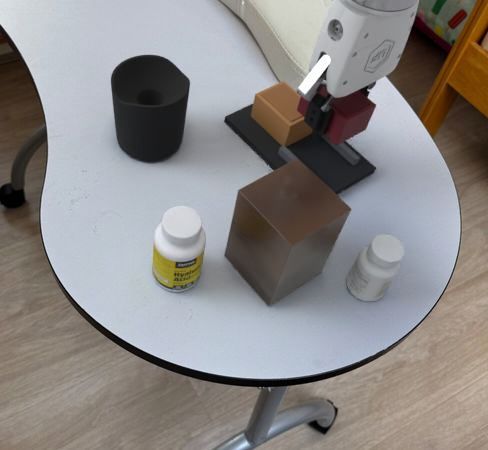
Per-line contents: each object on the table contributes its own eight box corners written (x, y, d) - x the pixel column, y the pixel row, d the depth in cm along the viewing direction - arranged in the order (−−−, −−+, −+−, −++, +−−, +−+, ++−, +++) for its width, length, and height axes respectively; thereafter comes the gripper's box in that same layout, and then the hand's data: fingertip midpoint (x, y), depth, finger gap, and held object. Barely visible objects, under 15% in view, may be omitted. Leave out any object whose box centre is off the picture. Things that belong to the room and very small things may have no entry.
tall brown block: (321, 272, 67) (352, 208, 57) (268, 307, 64) (291, 246, 54) (276, 225, 71) (297, 157, 61) (223, 255, 67) (237, 189, 58)
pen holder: (188, 118, 80) (193, 59, 72) (181, 169, 75) (185, 111, 67) (120, 110, 80) (118, 50, 72) (108, 161, 75) (104, 102, 67)
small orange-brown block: (311, 133, 79) (319, 110, 75) (284, 148, 77) (290, 125, 74) (278, 103, 82) (283, 79, 79) (250, 116, 80) (255, 92, 77)
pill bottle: (384, 273, 68) (408, 234, 61) (384, 306, 65) (410, 269, 59) (346, 265, 68) (366, 226, 62) (344, 298, 65) (366, 260, 59)
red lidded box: (366, 129, 70) (377, 103, 67) (336, 146, 68) (346, 120, 65) (325, 95, 73) (334, 69, 70) (296, 110, 71) (304, 83, 68)
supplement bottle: (172, 302, 63) (176, 253, 56) (142, 268, 66) (142, 215, 58) (210, 276, 66) (219, 225, 58) (180, 244, 68) (185, 191, 60)
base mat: (374, 173, 77) (379, 161, 75) (313, 209, 72) (317, 198, 71) (283, 93, 85) (287, 81, 83) (224, 121, 80) (226, 109, 79)
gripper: (346, 29, 51) (300, 167, 66) (469, -26, 57) (402, 111, 72) (289, -15, 54) (257, 126, 69) (411, -62, 61) (358, 76, 76)
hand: (332, 117), depth 70 cm, fingers closed on red lidded box, 5 cm apart
